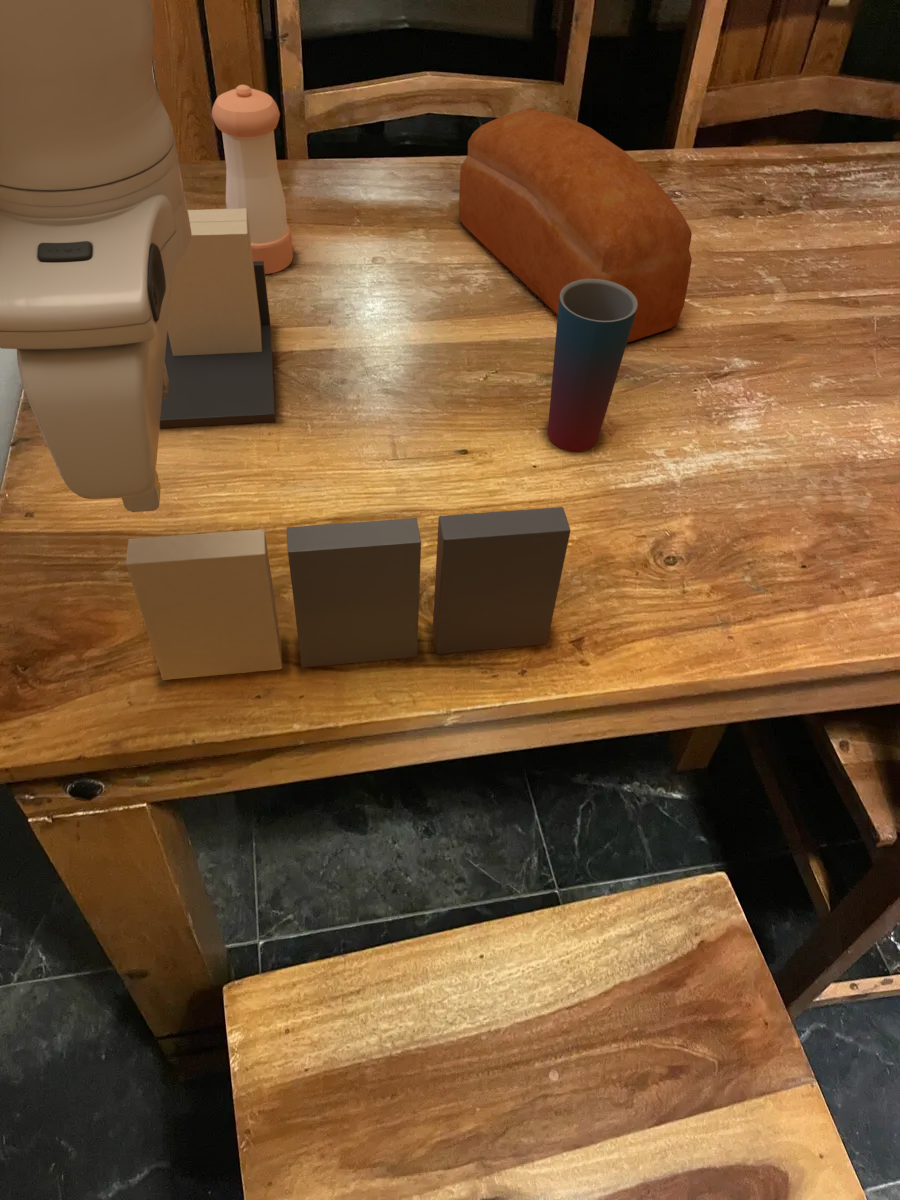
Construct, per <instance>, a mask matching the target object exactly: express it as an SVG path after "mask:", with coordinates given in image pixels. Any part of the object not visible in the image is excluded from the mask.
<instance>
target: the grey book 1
mask: <svg viewBox="0 0 900 1200" xmlns="http://www.w3.org/2000/svg"><path fill="white" fill-rule="evenodd" d="M286 544H287V545H286V547H287V558H288V566H289V574H290V583H291V590H292V598H293V599H292V600H293V607H294V616H295V623H296V631H297V641H298V647H299V648H298V649H299V656H300V664H301V668H313V667H323V666H337V665H345V664H357V663H367V662H379V661H390V660H400V659H411V658H418V640H419V613H420V611H419V610H420V589H421V587H420V585H421V584H420V583H421V559H422V556H421V555H422V539H421V535H420V528H419V524H418V519H417V517H411V518H398V519H397V518H396V519H381V520H369V521H356V522H343V523H341V522H340V523H329V524H328V523H327V524H313V525H300V526H286Z"/></svg>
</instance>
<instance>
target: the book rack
mask: <svg viewBox="0 0 900 1200" xmlns="http://www.w3.org/2000/svg"><path fill="white" fill-rule="evenodd" d="M187 210H188V215H189V221H190V226H191V232H192V238H191V243H190V246H189V248H188V250H187V252H186V253H185V255H184V256H183V257H182V258H181V259H180V260H179V261H178V262H177V266H176V269H175V272H174V274H173V276H172V281H171V293H170V305H169V317H168V329H167V341H166V354H165V365H166V369H167V374H168V378H169V384H168V394H167V398H166V399H164V400H162V402H161V415H160V427H159V429H169V428H170V429H173V428H189V427H191V428H192V427H207V426H223V425H224V426H225V425H241V424H242V425H243V424H259V423H260V424H261V423H275V422H276V420H277V419H276V403H275V402H276V401H275V384H274V381H275V380H274V359H273V340H272V325H271V317H270V308H269V299H268V290H267V289H268V287H267V279H266V274H265V270H264V262H263V261H253V256H252V248H251V239H250V231H249V223H248V215H247V209H246V208H243V209H227V208H212V209H210V208H208V209H187Z"/></svg>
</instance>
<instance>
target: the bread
mask: <svg viewBox="0 0 900 1200" xmlns="http://www.w3.org/2000/svg"><path fill="white" fill-rule="evenodd" d="M458 193H459V194H458V196H459V197H458V218H459V220H460V222H461V224H462V225H463V227H465V228H466V230H467V231H469V232H470V233H471V234H472V235H473V236H474V237H475V238H476V239H477V240H478V241H479V242H480V243H481V244H482V245H483V246H484V247H486V249H487V250H488V251H489V252H491V253H492V255H494V256H495V258H497V259H498V260H499V261H500V262H501V263H502V264H503V265H504V266H506V268H508V269H509V271H511V272H512V273H513V274H514V275H515V276H516V277H517V278H518V279H519V280H520V281H521V282H522V283H523V284H524V285H526V286H527V287H528V289H530V290H531V291H532V292H533V294H535V295H536V296H537V297H538V298H539V299H540V300H541V301H542V302H543V303H544V304H545V305H546V306H548V307H549V309H551V310H552V312H554V313H555V314H556V315H557V316H558V307H559V295H560V292H561V290H562V289H563V288H564V287H565V286H566V285H567V284H569V283H571V282H574V281H577V280H582V279H602V280H607V281H611V282H614V283H617V284H619V285H622V286H623V287H625V288H627V289H628V290H629V291H631V292H632V293H633V294H634V296H635V297H636V299H637V303H638V307H637V311H636V314H635V318H634V321H633V324H632V328H631V331H630V334H629V338H628V341H627V343H630V342H634V341H638V340H639V339H644V338H646V337H649V336H652V335H655V334H658V333H661V332H663V331H667V330H670V329H671V328H673V327H675V326H677V324H678V322H679V319H680V316H681V314H682V311H683V309H684V306H685V302H686V297H687V291H688V285H689V280H690V274H691V267H692V260H693V259H692V255H691V251H690V248H691V241H692V229H691V227H690V226H689V224H688V223H687V221H686V219H685V217H684V215H683V214H682V212H681V211H680V209H679V208H678V206H677V205H676V204H675V202H674V201H673V200H672V199H671V198H670V196H669V195H668V194H667V193H666V192H665V190H664V189H663V188H662V186H661V185H660V184H659V183H658V181H657V180H656V179H655V178H654V177H653V176H652V175H651V174H650V173H648V171H646V170H645V168H643V167H642V166H641V165H640V164H639V163H638V162H637V161H636V160H635V159H634V157H631V156H630V154H628V153H627V152H626V151H625V150H624V149H622V148H621V147H619V146H618V145H617V144H615V143H613V142H612V141H610V140H609V139H607V138H606V137H604V136H603V135H601V134H600V133H599V132H597V131H596V130H594V129H593V128H592V127H590V126H587V125H585V124H583V123H581V122H579V121H577V120H574V119H572V118H570V117H566V116H563V115H560V114H556V113H553V112H549V111H545V110H539V109H533V108H526V109H523V110H518V111H515V112H512V113H508V114H505V115H501V116H499V117H497V118H495V119H492V120H490V121H488V122H487V123H484V124H482V125H480V126H479V127H478V128H477V129H475V130H474V131H473V133H472V134H471V136H470V137H469V139H468V140H467V156H466V157H465V159H464V161H463V163H462V164H461V166H460V170H459V192H458Z"/></svg>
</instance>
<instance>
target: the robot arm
mask: <svg viewBox="0 0 900 1200" xmlns="http://www.w3.org/2000/svg"><path fill="white" fill-rule="evenodd" d="M154 35H155V26H154V18H153V12H152V6H151V1H150V0H0V349H3V350H16V360H17V366H18V371H19V375H20V379H21V383H22V386H23V390H24V393H25V395H26V398H27V401H28V404H29V406H30V409H31V411H32V414H33V416H34V418H35V421H36V423H37V425H38V426H37V427H38V428H39V431H40V433H41V435H42V437H43V440H44V441H45V444H46V447H47V449H48V451H49V453H50V455H51V457H52V459H53V461H54V463H55V466H56V468H57V470H58V473H59V474H60V476H61V479H62V480H63V483H64V484H65V485H66V487H67V488H68V490H70V492H72V493H73V494H75V495H77V496H79V498H80V497H81V498H83V499H86V500H105V499H109V500H110V499H121V500H122V503H123V507H124V508H125V509H126V510H127V511H129V512H132V513H140V512H141V513H142V512H143V513H144V512H154V511H156V510H158V509H159V508H160V505H161V503H160V502H161V487H162V486H161V482H160V481H159V475H158V471H157V460H158V451H159V437H160V415H161V402H162V400H164V399H166V398H167V394H168V384H169V378H168V374H167V369H166V365H165V354H166V341H167V329H168V317H169V305H170V293H171V281H172V276H173V274H174V272H175V269H176V266H177V262H178V261H179V260H180V259H181V258H182V257H183V256H184V255H185V253H186V252H187V250H188V248H189V246H190V243H191V238H192V232H191V226H190V221H189V215H188V210H189V209H188V205H187V200H186V194H185V189H184V188H185V187H184V184H183V176H182V172H181V165H180V161H179V156H178V150H177V144H176V139H175V134H174V129H173V124H172V121H171V118H170V116H169V114H168V112H167V110H166V108H165V105H164V103H163V102H162V99H161V97H160V95H159V91H158V88H157V85H156V82H155V76H154V70H153V49H154V39H155V37H154Z"/></svg>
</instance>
